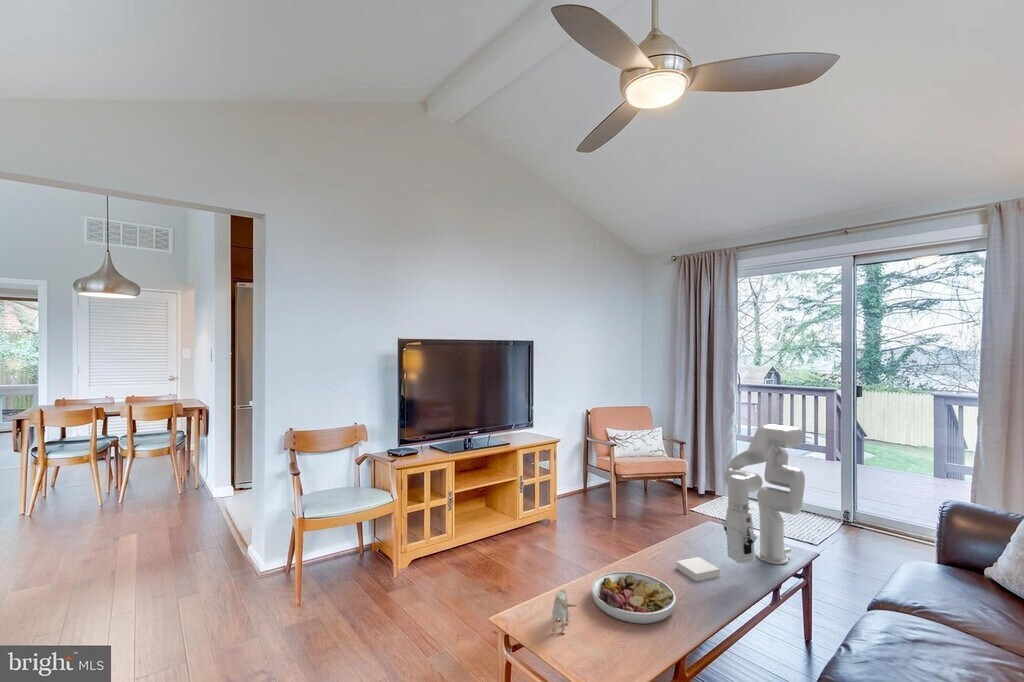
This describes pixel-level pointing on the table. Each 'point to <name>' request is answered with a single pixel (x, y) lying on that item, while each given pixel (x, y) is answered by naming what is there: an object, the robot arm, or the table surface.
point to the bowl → (633, 597)
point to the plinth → (697, 568)
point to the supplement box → (738, 547)
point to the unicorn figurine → (560, 609)
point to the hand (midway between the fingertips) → (739, 548)
